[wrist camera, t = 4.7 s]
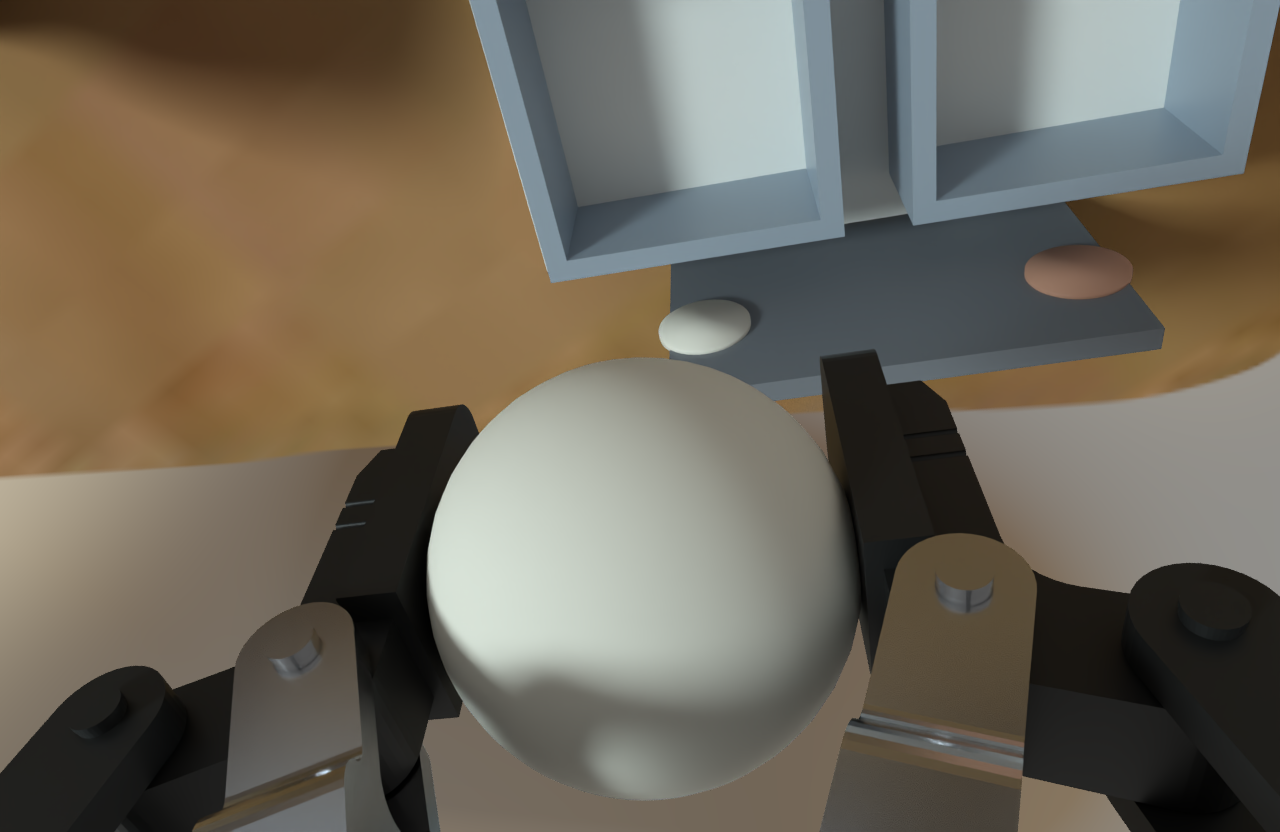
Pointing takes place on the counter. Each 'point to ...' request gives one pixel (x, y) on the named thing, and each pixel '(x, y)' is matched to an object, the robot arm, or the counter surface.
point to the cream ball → (643, 578)
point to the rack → (853, 113)
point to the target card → (911, 301)
